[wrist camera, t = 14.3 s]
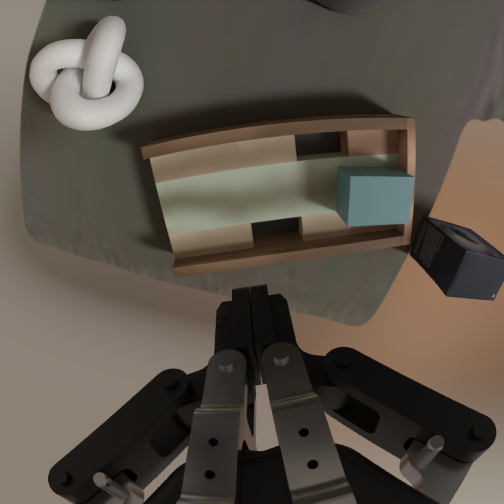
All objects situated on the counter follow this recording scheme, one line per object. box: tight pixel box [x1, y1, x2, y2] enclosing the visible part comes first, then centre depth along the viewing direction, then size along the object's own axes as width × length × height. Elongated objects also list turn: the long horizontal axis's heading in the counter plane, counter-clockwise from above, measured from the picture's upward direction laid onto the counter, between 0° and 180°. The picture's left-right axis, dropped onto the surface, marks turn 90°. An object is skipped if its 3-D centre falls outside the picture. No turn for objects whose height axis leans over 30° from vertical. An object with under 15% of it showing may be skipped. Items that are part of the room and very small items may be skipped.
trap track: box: [141, 114, 416, 277], centre depth 31 cm, size 14×27×5 cm, turn 98°
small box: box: [410, 216, 504, 301], centre depth 33 cm, size 11×6×10 cm, turn 80°
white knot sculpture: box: [29, 16, 144, 131], centre depth 23 cm, size 11×12×9 cm
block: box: [336, 166, 414, 226], centre depth 29 cm, size 5×7×4 cm
